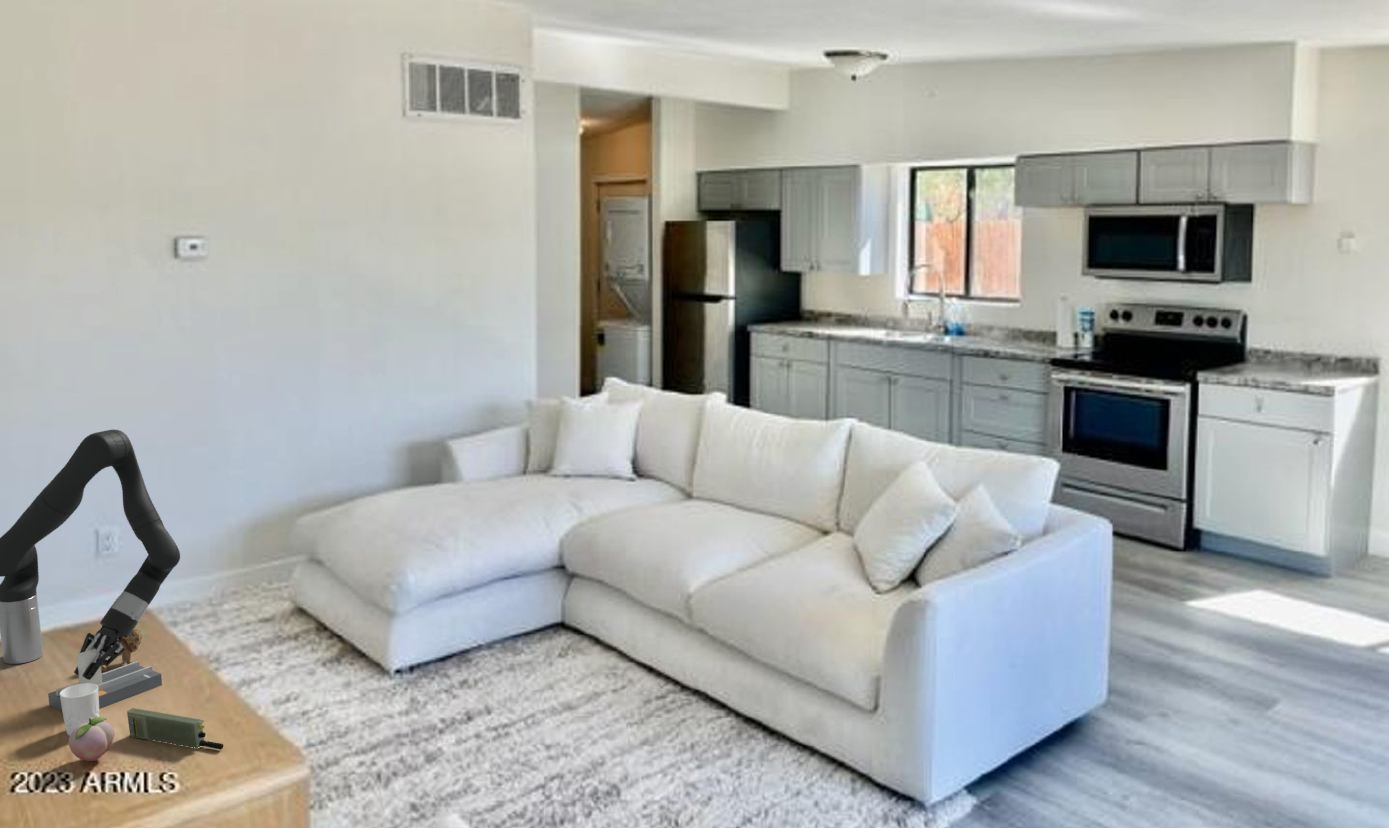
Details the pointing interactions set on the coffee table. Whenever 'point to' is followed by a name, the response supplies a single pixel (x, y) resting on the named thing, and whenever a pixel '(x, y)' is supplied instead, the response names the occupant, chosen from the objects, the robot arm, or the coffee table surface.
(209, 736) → the coffee table surface
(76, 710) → the white cup
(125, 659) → the lion figurine
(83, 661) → the fader knob
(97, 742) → the decorative fruit
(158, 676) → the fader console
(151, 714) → the handheld radio
